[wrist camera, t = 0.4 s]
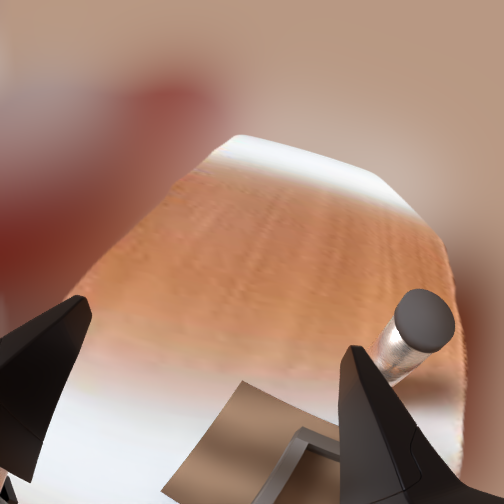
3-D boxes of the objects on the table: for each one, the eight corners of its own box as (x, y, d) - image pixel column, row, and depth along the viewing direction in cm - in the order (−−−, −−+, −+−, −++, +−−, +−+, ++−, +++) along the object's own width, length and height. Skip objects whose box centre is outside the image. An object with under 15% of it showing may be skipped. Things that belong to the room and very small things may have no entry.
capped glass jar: (384, 405, 22) (463, 341, 14) (342, 410, 22) (412, 348, 13) (376, 365, 25) (441, 288, 17) (336, 368, 25) (392, 288, 17)
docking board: (379, 569, 9) (400, 575, 7) (163, 490, 15) (152, 491, 13) (428, 460, 17) (452, 452, 14) (241, 385, 23) (243, 369, 21)
